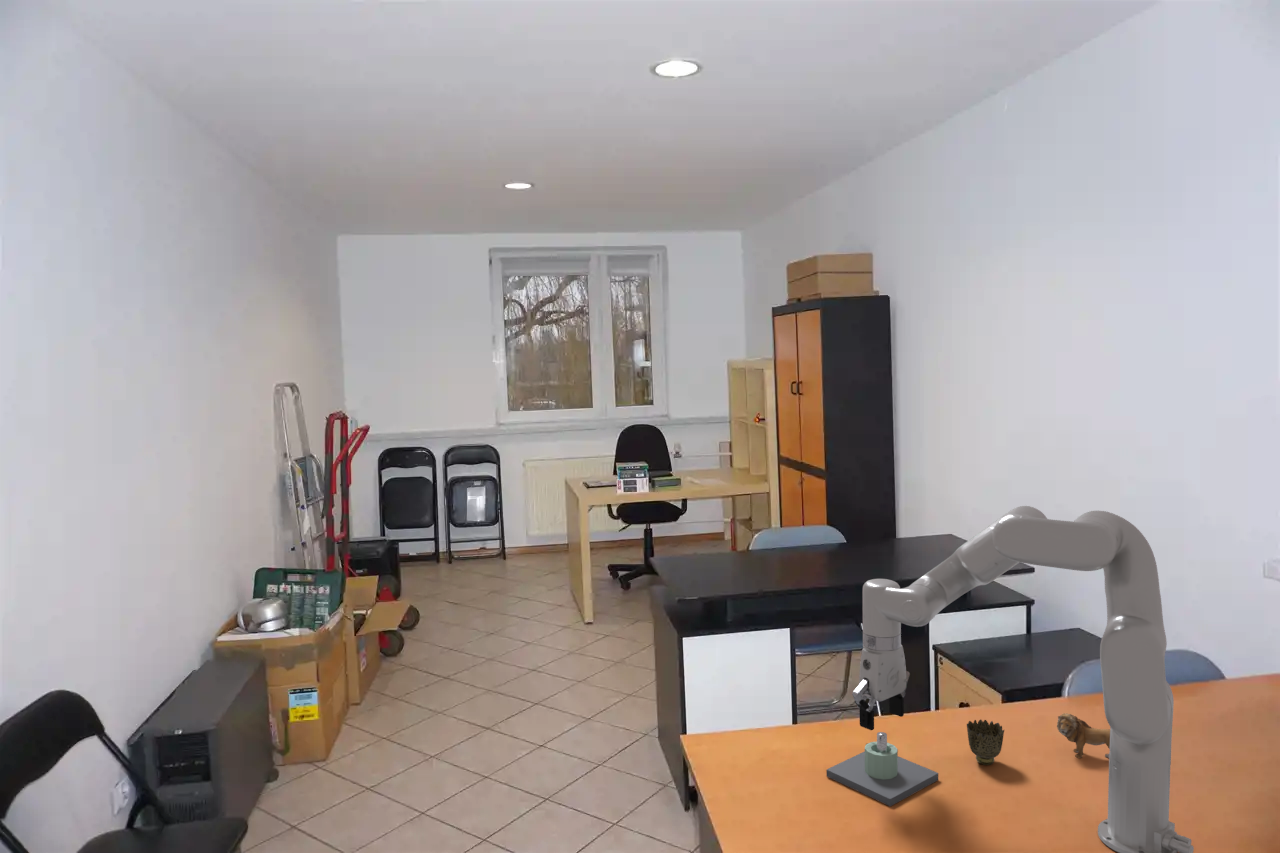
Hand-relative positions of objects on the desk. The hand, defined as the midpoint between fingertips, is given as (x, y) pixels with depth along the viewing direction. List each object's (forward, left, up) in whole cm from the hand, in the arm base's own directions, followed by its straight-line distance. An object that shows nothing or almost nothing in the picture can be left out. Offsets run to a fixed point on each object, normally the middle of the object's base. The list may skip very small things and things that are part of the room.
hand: (881, 721), depth 185 cm
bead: (0, 0, -11) cm, 11 cm away
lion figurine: (-24, -41, -13) cm, 49 cm away
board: (0, 0, -12) cm, 12 cm away
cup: (-10, -22, -12) cm, 27 cm away
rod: (0, 0, -11) cm, 11 cm away
